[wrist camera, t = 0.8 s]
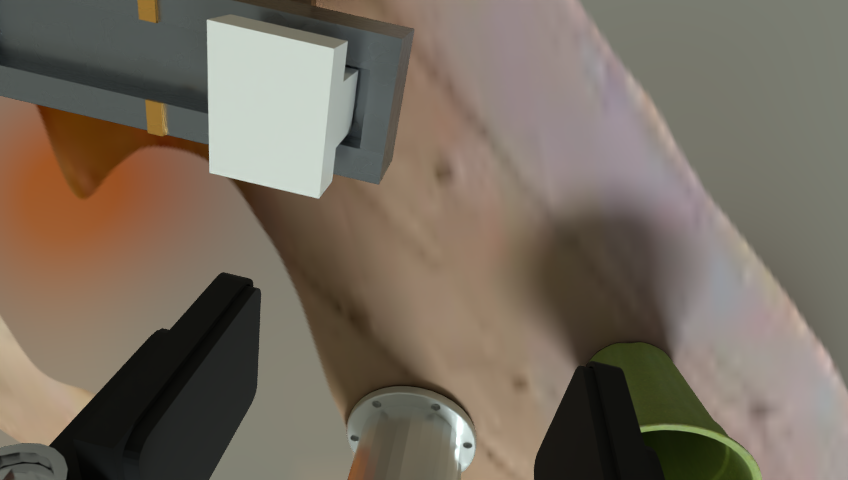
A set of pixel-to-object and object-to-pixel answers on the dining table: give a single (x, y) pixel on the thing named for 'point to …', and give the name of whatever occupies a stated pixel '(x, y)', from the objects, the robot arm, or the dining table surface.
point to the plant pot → (677, 418)
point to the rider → (276, 103)
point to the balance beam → (188, 65)
